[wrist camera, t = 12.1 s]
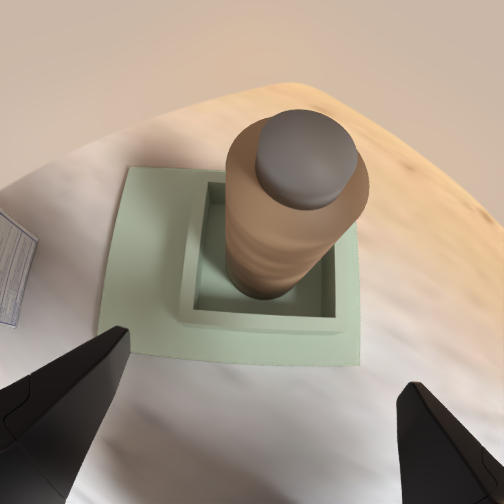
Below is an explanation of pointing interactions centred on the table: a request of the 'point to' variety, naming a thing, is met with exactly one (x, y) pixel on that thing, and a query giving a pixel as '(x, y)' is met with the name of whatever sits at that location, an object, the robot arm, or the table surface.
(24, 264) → the medicine box
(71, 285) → the table surface
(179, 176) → the sage tray
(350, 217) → the pepper mill
